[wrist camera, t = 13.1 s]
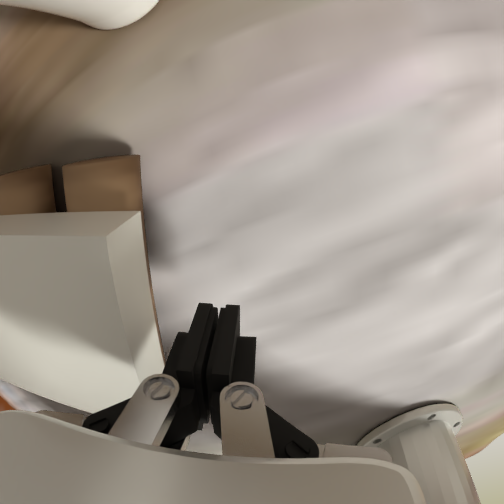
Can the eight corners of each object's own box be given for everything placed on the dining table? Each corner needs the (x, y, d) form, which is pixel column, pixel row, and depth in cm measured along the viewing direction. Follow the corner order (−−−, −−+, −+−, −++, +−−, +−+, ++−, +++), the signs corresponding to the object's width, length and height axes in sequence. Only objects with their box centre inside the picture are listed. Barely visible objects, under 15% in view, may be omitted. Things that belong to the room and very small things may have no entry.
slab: (169, 387, 15) (155, 428, 13) (3, 346, 16) (-18, 370, 13) (140, 210, 12) (105, 236, 9) (-39, 218, 12) (-71, 235, 9)
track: (174, 361, 20) (159, 403, 16) (-21, 318, 21) (-43, 338, 17) (151, 153, 15) (117, 162, 11) (-57, 187, 15) (-86, 199, 12)
